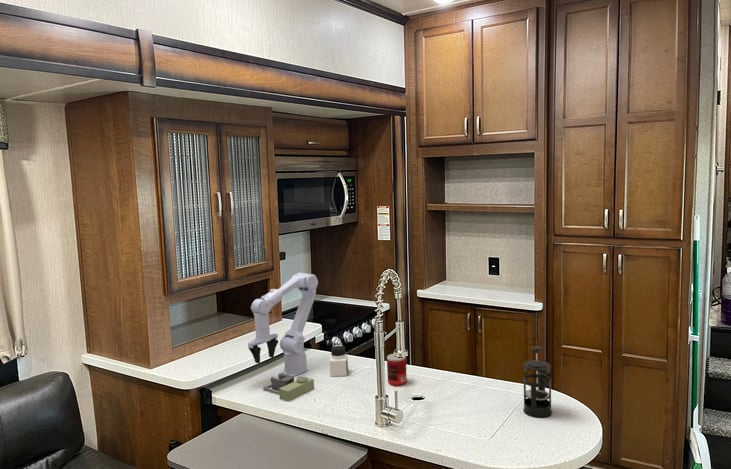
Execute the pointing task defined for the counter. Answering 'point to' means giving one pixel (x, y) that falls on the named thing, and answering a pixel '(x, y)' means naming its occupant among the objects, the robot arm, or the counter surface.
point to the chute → (281, 381)
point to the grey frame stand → (293, 388)
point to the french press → (537, 395)
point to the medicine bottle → (338, 361)
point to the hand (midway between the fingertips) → (264, 359)
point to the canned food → (396, 370)
